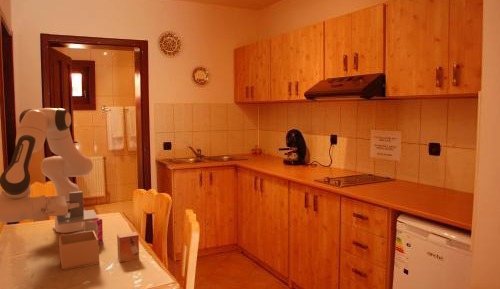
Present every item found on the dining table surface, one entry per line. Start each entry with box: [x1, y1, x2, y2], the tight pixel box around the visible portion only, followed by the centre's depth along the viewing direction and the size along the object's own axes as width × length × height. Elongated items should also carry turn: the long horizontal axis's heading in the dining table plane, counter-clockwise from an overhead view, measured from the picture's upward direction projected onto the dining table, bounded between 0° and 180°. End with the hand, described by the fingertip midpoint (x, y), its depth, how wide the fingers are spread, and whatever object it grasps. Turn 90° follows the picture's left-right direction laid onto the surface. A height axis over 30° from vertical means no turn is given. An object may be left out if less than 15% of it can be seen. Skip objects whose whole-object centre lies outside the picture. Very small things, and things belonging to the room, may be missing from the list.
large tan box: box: [58, 231, 100, 271], centre depth 168 cm, size 14×14×10 cm
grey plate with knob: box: [57, 190, 99, 225], centre depth 167 cm, size 15×15×11 cm
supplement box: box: [84, 218, 104, 245], centre depth 189 cm, size 6×6×12 cm
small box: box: [116, 231, 140, 263], centre depth 170 cm, size 8×6×10 cm
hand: (78, 203), depth 167 cm, fingers closed on grey plate with knob, 2 cm apart
